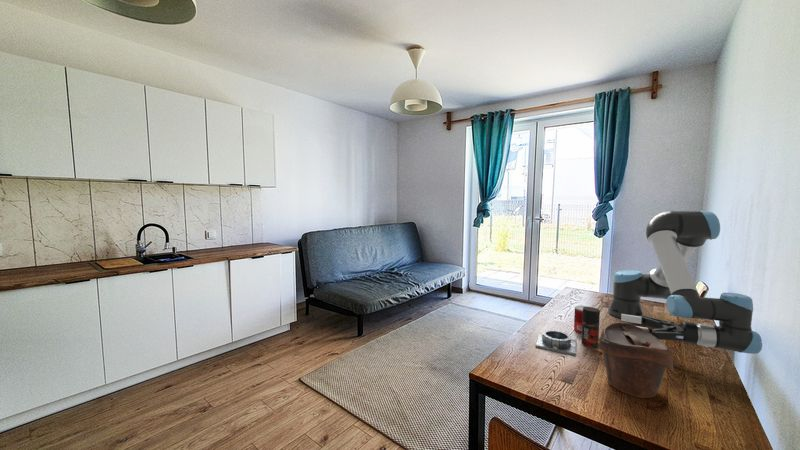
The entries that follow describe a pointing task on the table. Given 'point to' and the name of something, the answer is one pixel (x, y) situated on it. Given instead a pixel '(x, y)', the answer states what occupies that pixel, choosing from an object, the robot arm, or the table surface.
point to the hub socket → (556, 342)
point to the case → (634, 359)
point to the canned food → (578, 318)
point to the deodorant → (590, 327)
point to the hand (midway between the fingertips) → (623, 322)
